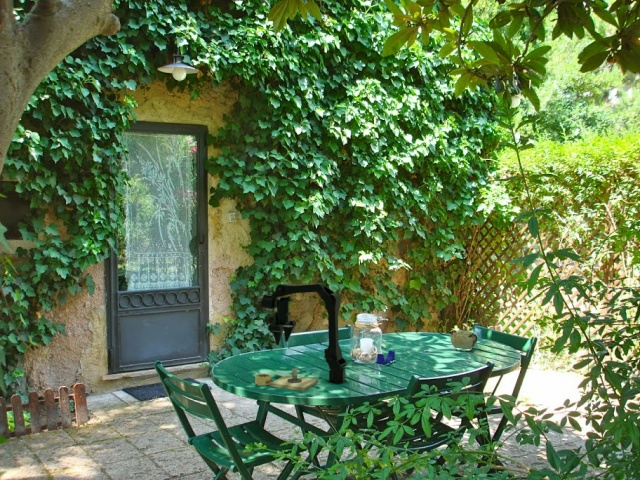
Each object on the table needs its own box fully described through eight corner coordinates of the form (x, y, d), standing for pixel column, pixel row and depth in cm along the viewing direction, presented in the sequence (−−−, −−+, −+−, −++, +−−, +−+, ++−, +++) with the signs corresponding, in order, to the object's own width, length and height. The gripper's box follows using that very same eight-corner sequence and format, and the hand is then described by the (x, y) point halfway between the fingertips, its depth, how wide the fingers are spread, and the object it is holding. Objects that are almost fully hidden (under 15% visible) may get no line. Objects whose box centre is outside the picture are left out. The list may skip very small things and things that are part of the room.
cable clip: (384, 367, 319) (384, 355, 319) (376, 365, 322) (377, 353, 322) (397, 363, 328) (397, 351, 328) (389, 361, 331) (390, 350, 331)
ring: (273, 382, 282) (273, 374, 282) (266, 386, 276) (266, 378, 276) (259, 380, 285) (260, 373, 285) (252, 384, 279) (252, 376, 279)
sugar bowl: (441, 348, 368) (442, 322, 368) (459, 346, 377) (460, 321, 376) (467, 355, 352) (468, 328, 352) (485, 352, 360) (486, 326, 360)
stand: (318, 382, 284) (318, 367, 284) (303, 391, 270) (303, 374, 269) (286, 378, 291) (286, 363, 290) (270, 386, 276) (270, 370, 276)
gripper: (276, 306, 309) (275, 338, 309) (258, 311, 292) (257, 345, 292) (297, 308, 304) (296, 340, 305) (279, 313, 287) (278, 347, 288)
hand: (281, 343), depth 298 cm, fingers open, 9 cm apart
